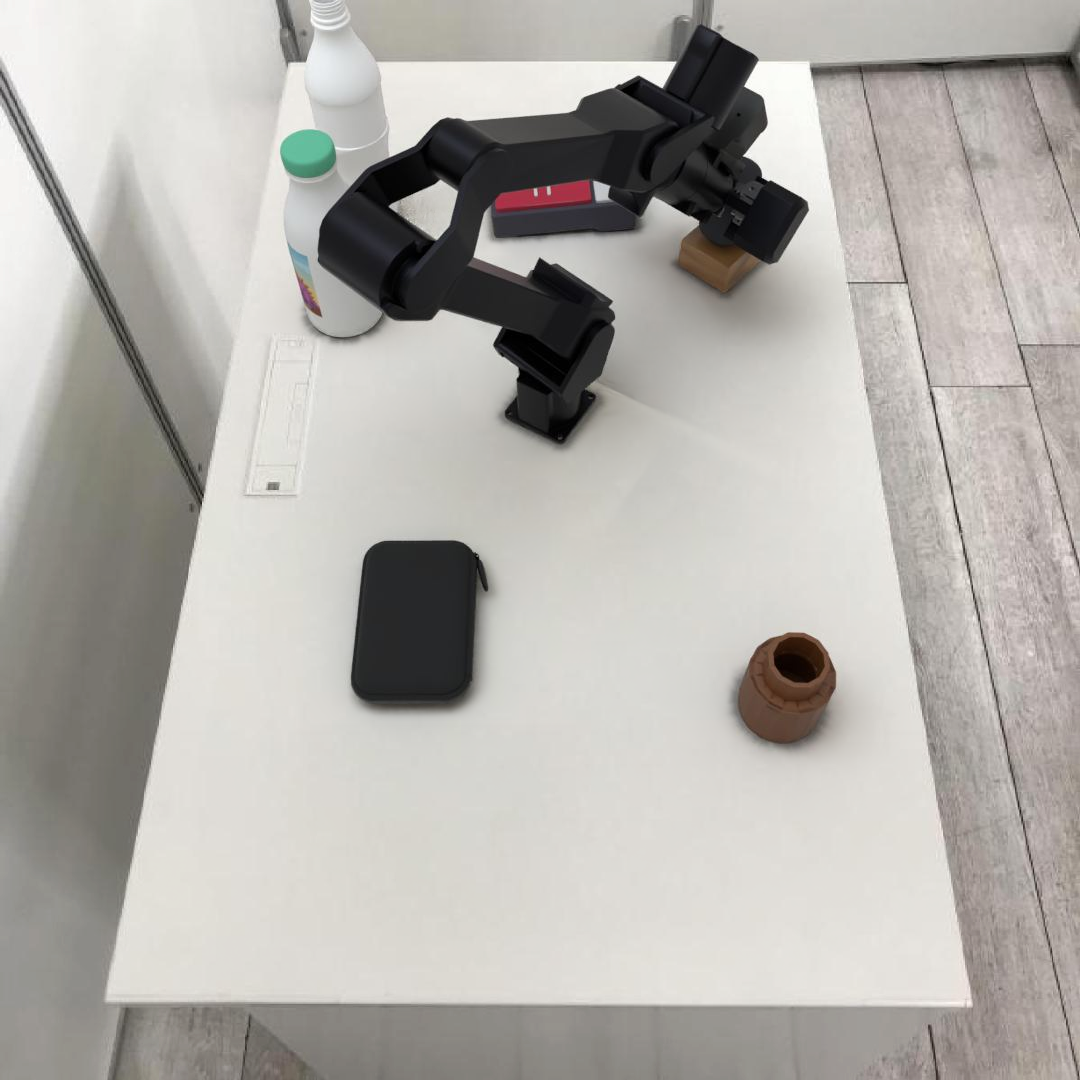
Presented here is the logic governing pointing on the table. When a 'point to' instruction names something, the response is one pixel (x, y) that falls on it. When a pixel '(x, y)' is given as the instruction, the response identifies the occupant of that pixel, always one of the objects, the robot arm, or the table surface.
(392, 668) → the carrying case
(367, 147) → the water bottle
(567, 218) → the calculator
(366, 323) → the milk bottle
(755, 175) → the bung
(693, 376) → the table surface
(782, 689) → the bottle
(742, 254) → the block
